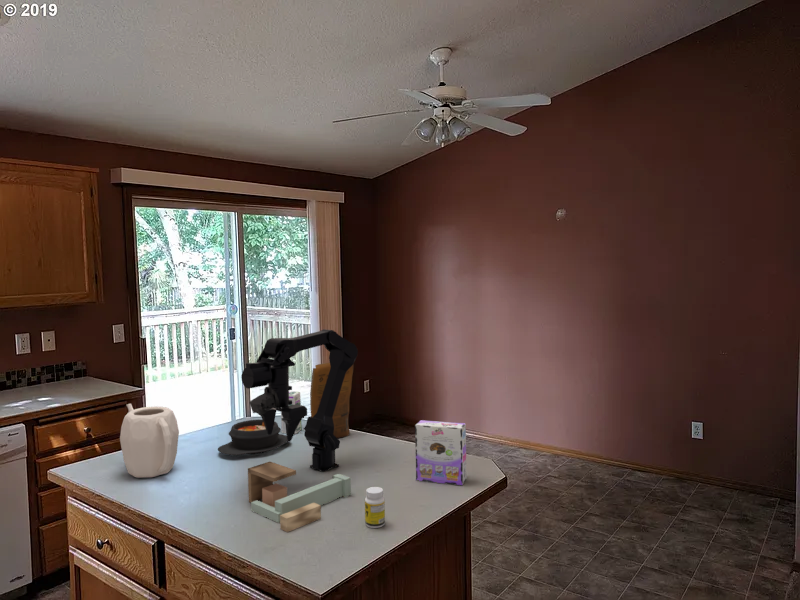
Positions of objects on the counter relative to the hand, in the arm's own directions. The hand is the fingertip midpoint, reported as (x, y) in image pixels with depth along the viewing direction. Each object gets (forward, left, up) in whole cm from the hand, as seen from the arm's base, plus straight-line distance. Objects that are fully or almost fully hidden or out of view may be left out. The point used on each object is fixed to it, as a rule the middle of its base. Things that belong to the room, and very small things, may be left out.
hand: (279, 437), depth 168 cm
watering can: (+19, -38, -13) cm, 45 cm away
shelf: (+11, +10, -13) cm, 20 cm away
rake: (+5, +16, -13) cm, 21 cm away
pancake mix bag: (-38, -20, -13) cm, 45 cm away
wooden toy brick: (+14, +25, -13) cm, 32 cm away
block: (+11, +11, -13) cm, 20 cm away
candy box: (-30, +34, -13) cm, 48 cm away
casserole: (-13, -31, -13) cm, 36 cm away
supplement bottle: (+3, +39, -13) cm, 42 cm away
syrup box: (-34, -38, -13) cm, 53 cm away
